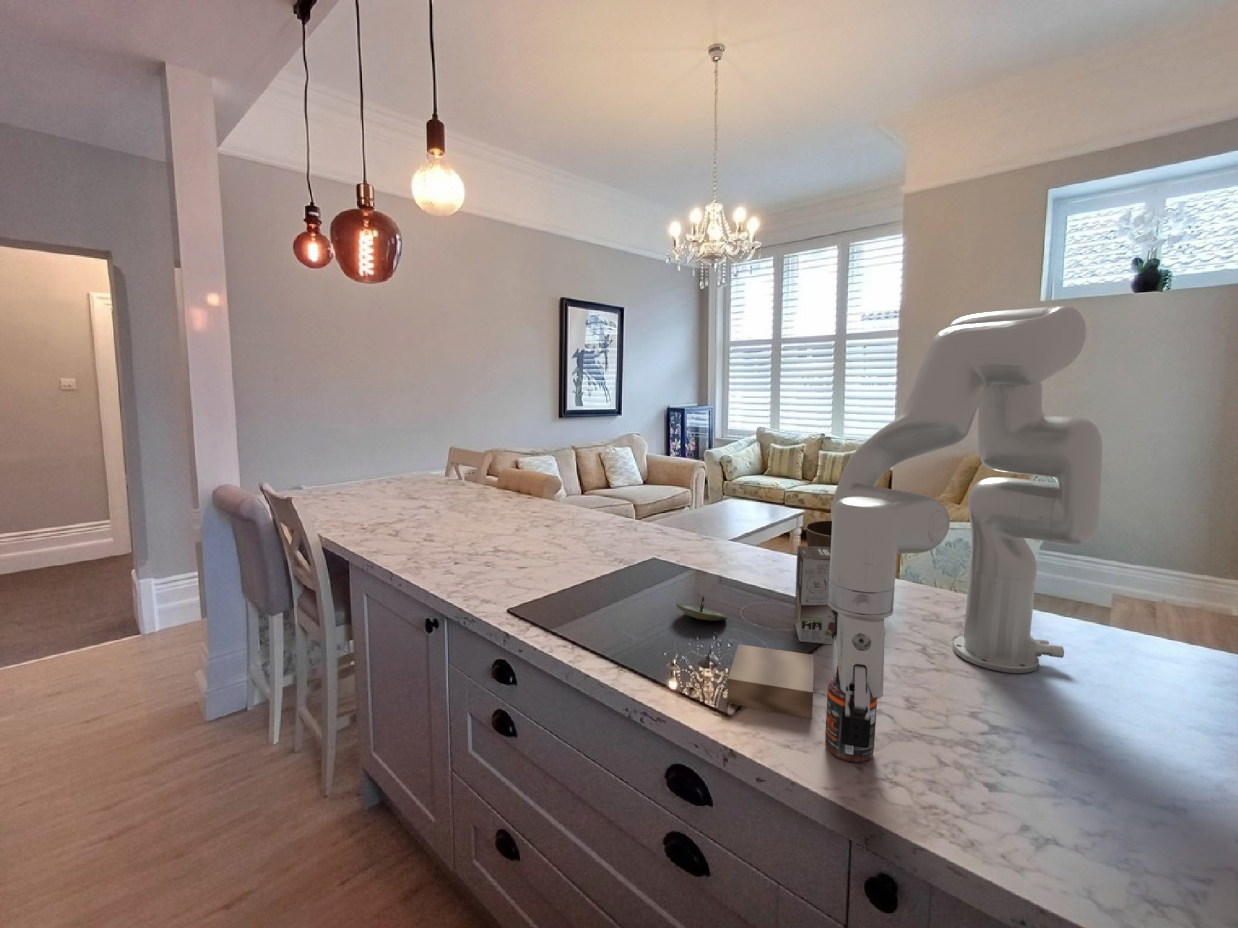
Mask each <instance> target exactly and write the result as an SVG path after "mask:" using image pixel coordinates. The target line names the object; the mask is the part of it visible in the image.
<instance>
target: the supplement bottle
mask: <svg viewBox="0 0 1238 928" xmlns="http://www.w3.org/2000/svg"><path fill="white" fill-rule="evenodd" d="M853 673H854V669H853ZM849 689H851V690H854V685H849ZM826 697H827V698H826V711H825V712H826V717H825V731H824V732H825V735H824V737H825V738H824V739H825V740H824V742H825V747H826V749H827V750H828V751H829V752H831V754H833V756H835V757H837V758H838V759H841V760H844V761H848V762H851V763H864V762H866V761H869V760H870V759H871V758H872V757H873V755H874V749H875V739H876V738H875V737H876V725H877V724H876V723H877V711H878V710H877V709H878V698H877V697H873V696H872V693H871V691H870V717H871V722H870V739H869V747H868V748H861V747H856V746H850V745H845V744H843V743H842V742H841V729H842V712H845V693H844V692H843V691H842V690H841V689H840V680H839V672H838V665H837V666H836V673H835V676H834V677H833V678H831V679H830V680H829V682H828V684H827V694H826ZM851 702H854V696H851V695H850V705H851Z"/></svg>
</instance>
